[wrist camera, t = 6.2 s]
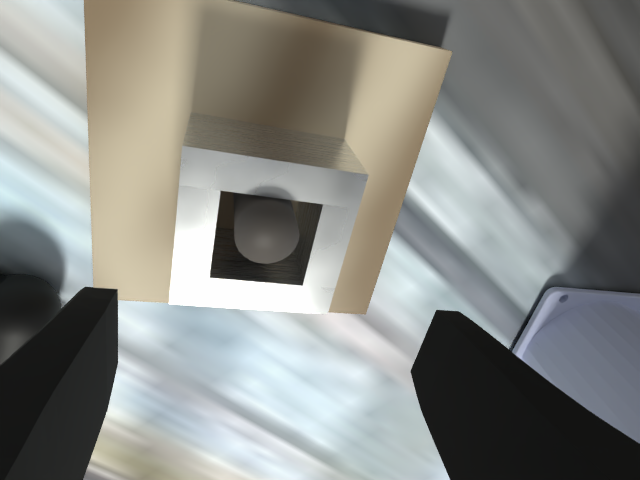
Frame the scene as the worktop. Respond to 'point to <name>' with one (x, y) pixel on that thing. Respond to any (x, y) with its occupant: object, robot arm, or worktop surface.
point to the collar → (270, 181)
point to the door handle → (24, 310)
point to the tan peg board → (249, 106)
